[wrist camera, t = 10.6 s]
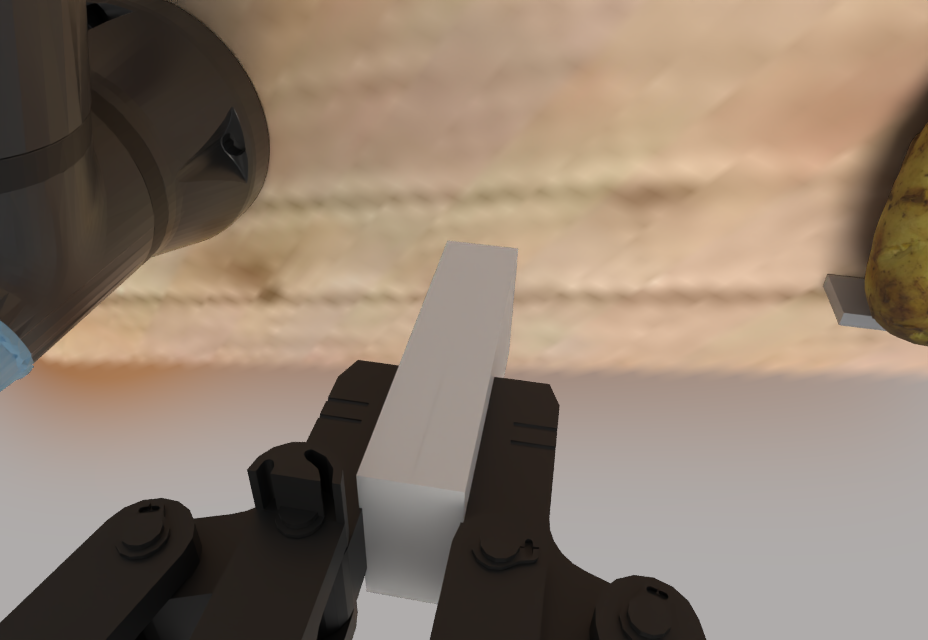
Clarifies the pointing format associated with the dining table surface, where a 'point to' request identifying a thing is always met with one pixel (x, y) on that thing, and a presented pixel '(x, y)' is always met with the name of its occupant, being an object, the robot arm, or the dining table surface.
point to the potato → (903, 251)
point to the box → (849, 301)
